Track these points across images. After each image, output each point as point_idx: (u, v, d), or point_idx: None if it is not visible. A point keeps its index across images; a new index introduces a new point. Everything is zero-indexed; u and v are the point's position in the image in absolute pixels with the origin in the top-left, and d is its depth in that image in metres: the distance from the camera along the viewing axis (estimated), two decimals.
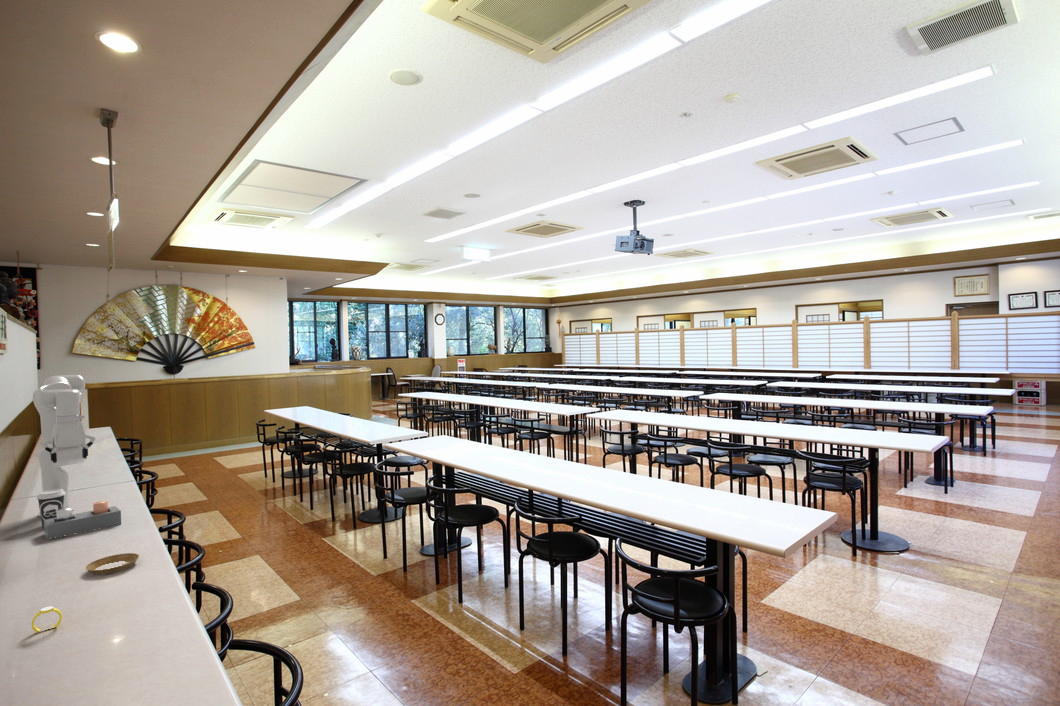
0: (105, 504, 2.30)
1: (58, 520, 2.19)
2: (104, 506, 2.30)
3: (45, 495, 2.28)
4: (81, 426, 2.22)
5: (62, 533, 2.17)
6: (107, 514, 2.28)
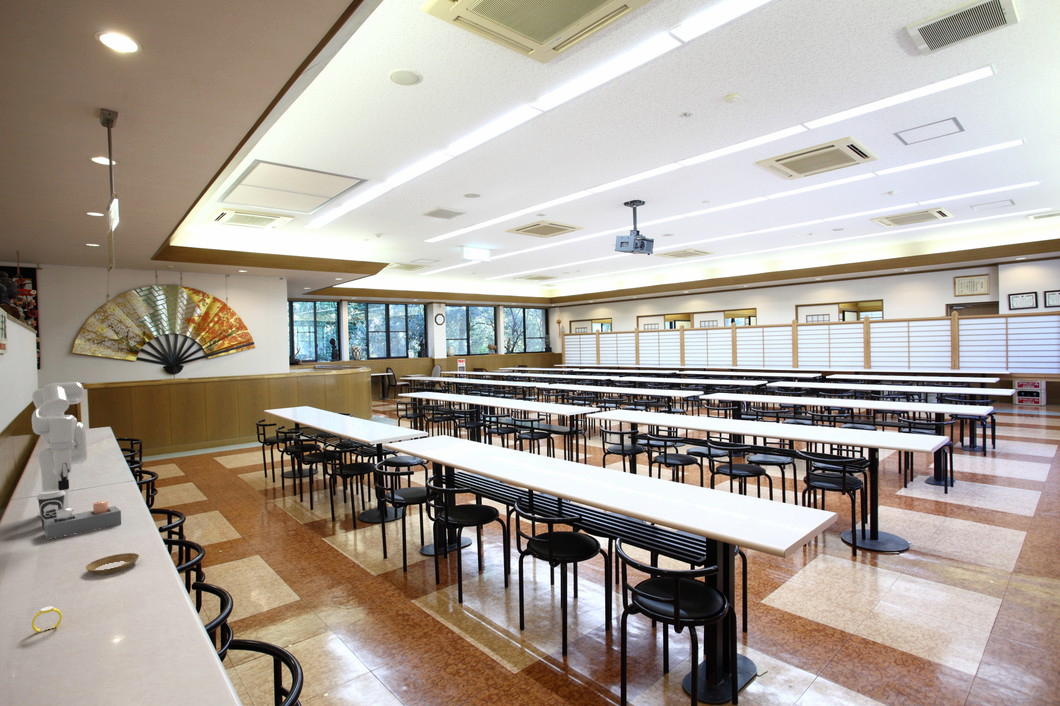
0: (105, 504, 2.30)
1: (58, 520, 2.19)
2: (104, 506, 2.30)
3: (45, 495, 2.28)
4: None
5: (62, 533, 2.17)
6: (107, 514, 2.28)
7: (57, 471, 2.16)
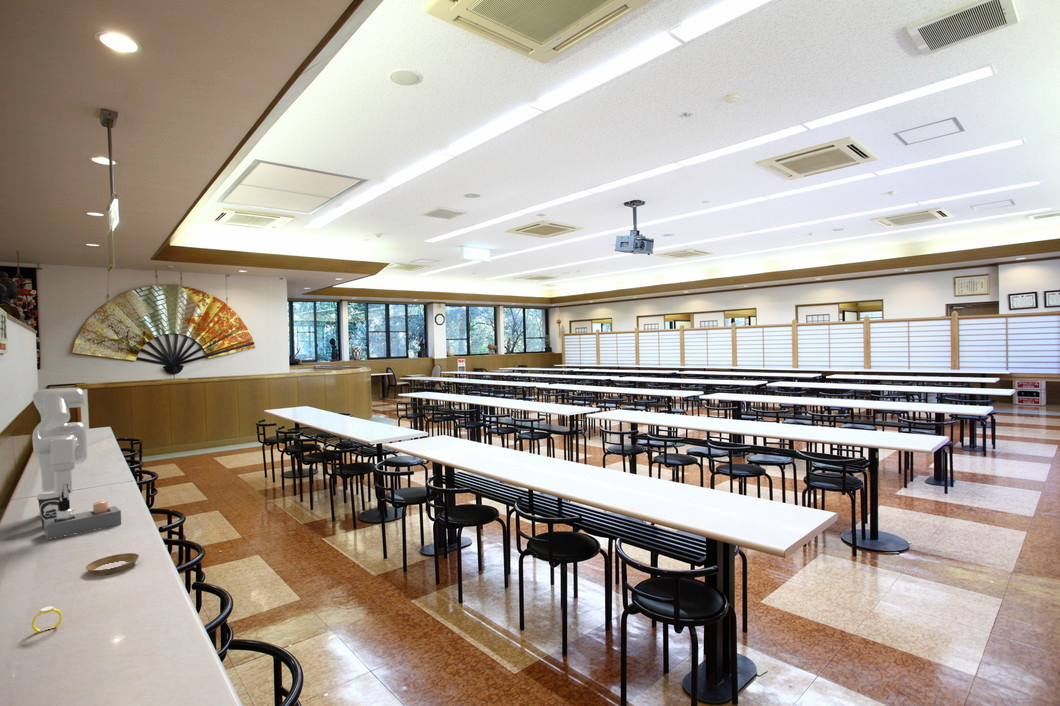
0: (105, 504, 2.30)
1: (58, 521, 2.19)
2: (104, 506, 2.30)
3: (45, 495, 2.28)
4: None
5: (62, 533, 2.17)
6: (107, 514, 2.28)
7: (58, 492, 2.16)
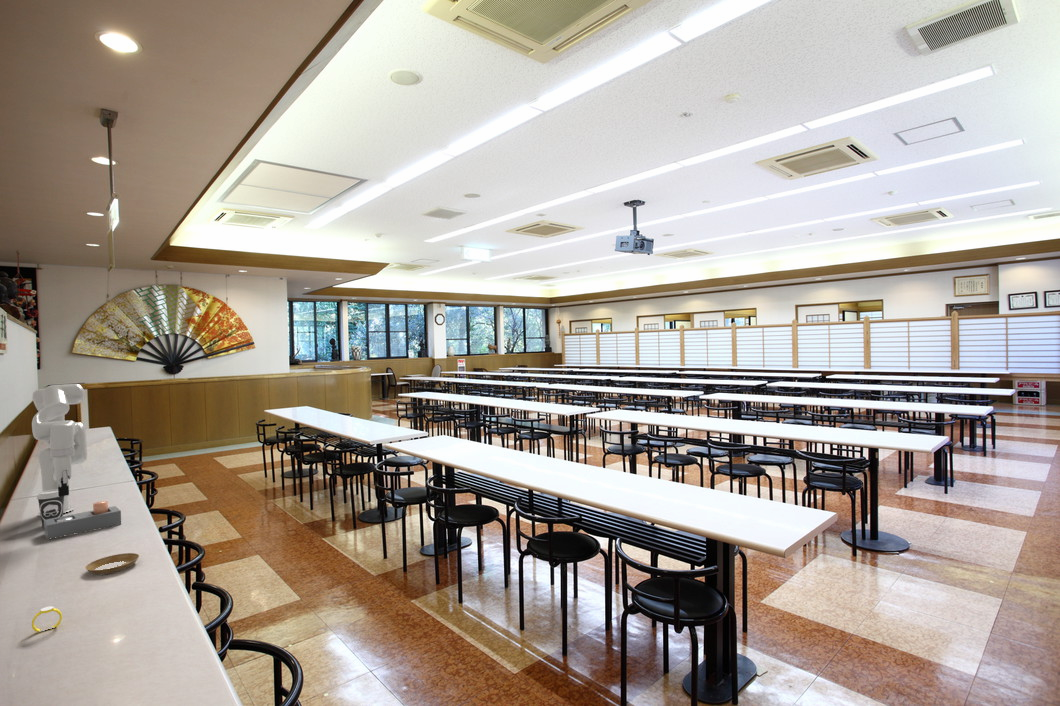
0: (105, 504, 2.30)
1: None
2: (104, 506, 2.30)
3: (45, 495, 2.28)
4: None
5: (62, 533, 2.17)
6: (107, 514, 2.28)
7: (57, 478, 2.17)
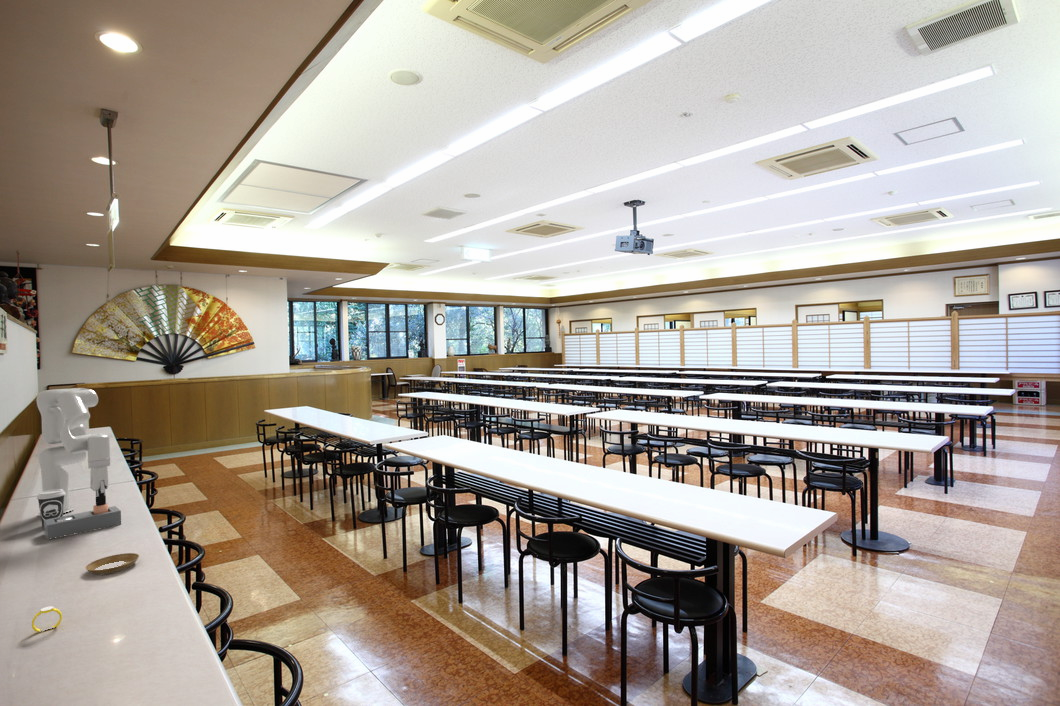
0: (105, 506, 2.30)
1: None
2: (104, 508, 2.30)
3: (45, 495, 2.28)
4: None
5: (62, 533, 2.17)
6: (107, 514, 2.28)
7: (95, 488, 2.25)
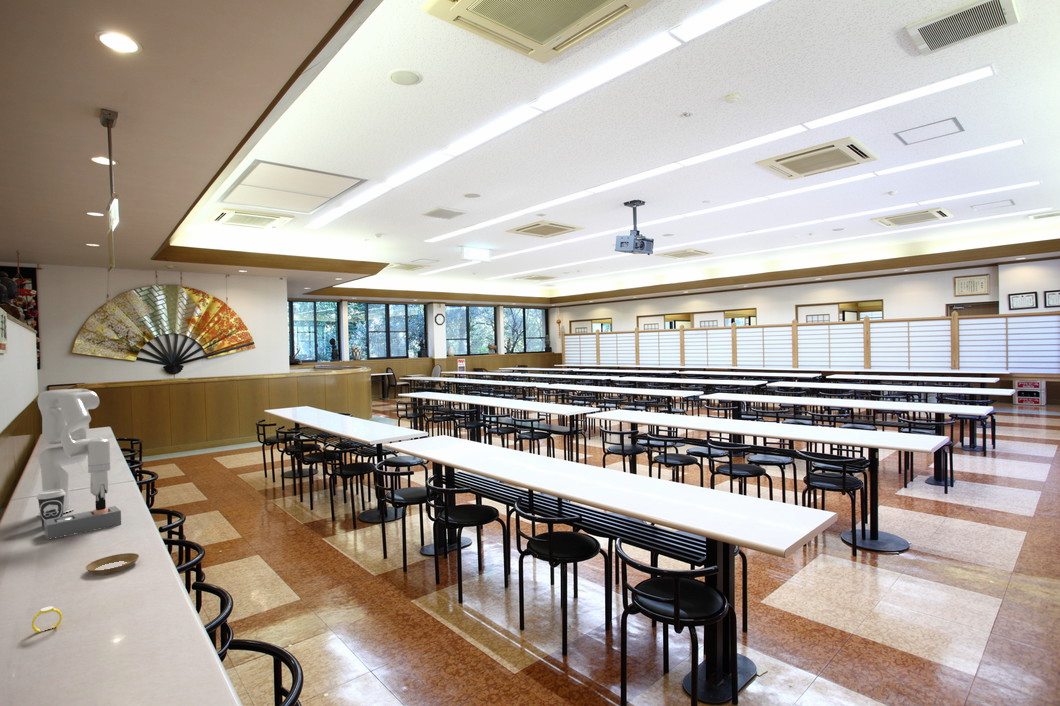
0: (105, 511, 2.30)
1: None
2: None
3: (45, 495, 2.28)
4: None
5: (62, 533, 2.17)
6: (107, 514, 2.28)
7: (95, 492, 2.25)
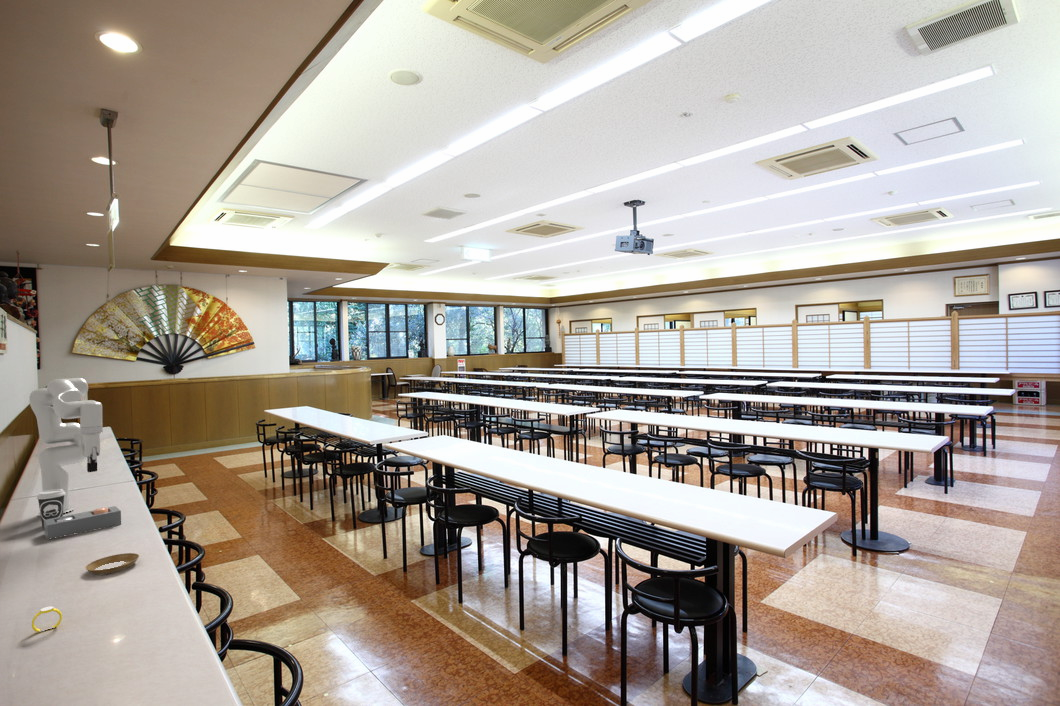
0: (105, 511, 2.30)
1: None
2: None
3: (45, 495, 2.28)
4: None
5: (62, 533, 2.17)
6: (107, 514, 2.28)
7: (87, 454, 2.26)
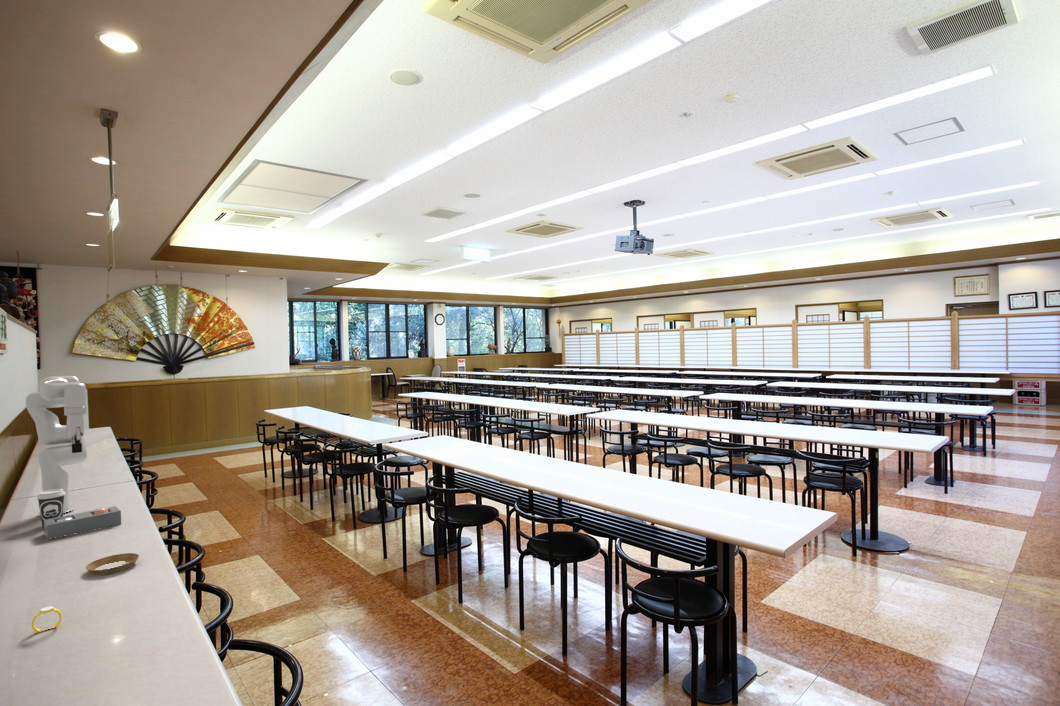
0: (105, 511, 2.30)
1: None
2: None
3: (45, 495, 2.28)
4: None
5: (62, 533, 2.17)
6: (107, 514, 2.28)
7: (71, 434, 2.27)
